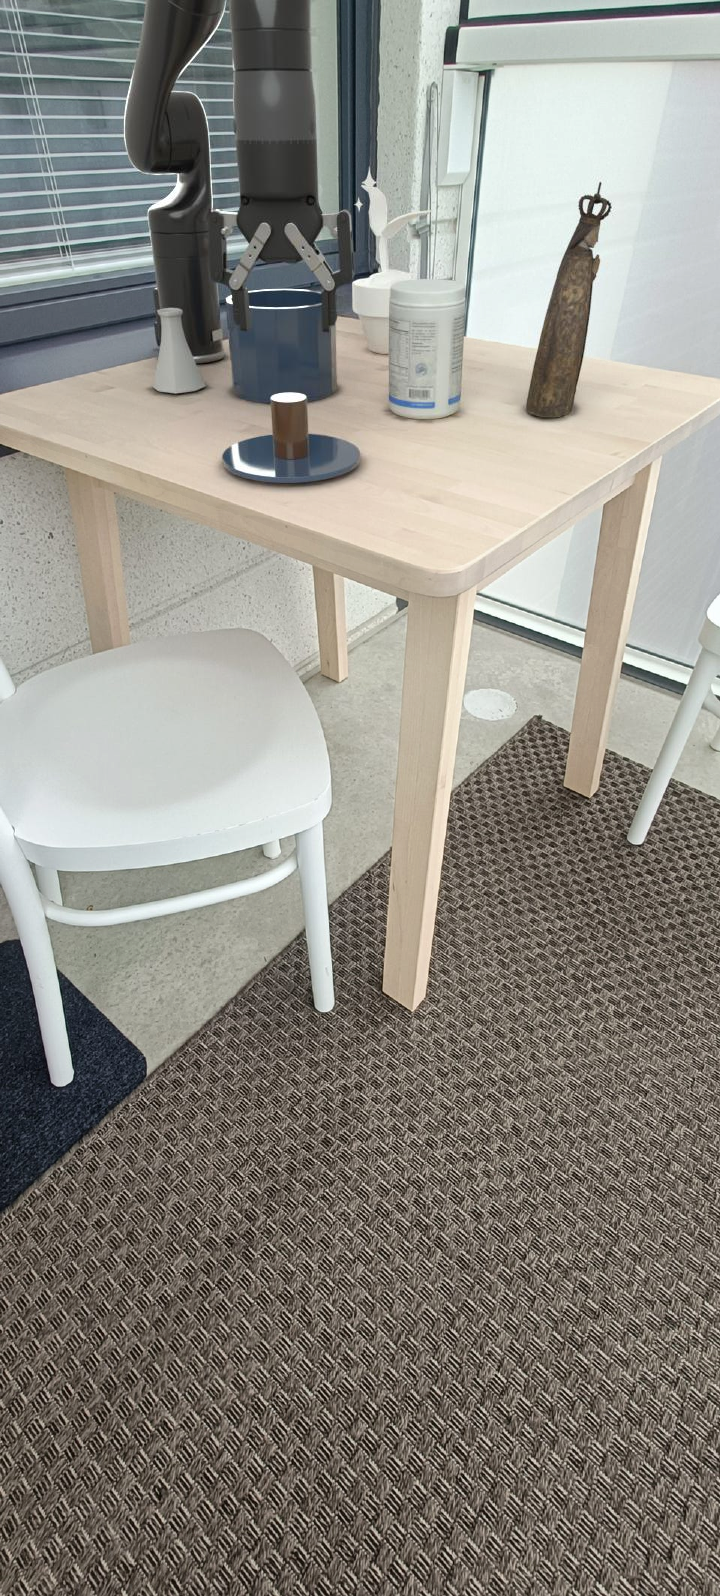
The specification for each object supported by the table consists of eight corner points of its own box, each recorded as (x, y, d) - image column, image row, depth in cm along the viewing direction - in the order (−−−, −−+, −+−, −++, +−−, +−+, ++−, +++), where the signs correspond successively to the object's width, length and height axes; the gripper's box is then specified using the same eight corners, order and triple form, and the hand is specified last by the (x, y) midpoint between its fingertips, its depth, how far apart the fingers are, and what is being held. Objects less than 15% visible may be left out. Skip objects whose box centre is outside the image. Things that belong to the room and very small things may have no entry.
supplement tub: (433, 398, 121) (439, 276, 112) (474, 414, 115) (483, 286, 106) (373, 407, 117) (374, 282, 108) (412, 425, 111) (417, 294, 102)
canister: (212, 393, 123) (202, 301, 116) (277, 372, 133) (272, 285, 125) (293, 409, 117) (289, 313, 110) (355, 386, 126) (355, 295, 119)
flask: (143, 388, 125) (132, 310, 119) (183, 379, 129) (174, 303, 123) (174, 398, 121) (164, 317, 115) (215, 388, 126) (207, 309, 119)
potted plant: (338, 352, 143) (335, 164, 127) (378, 339, 150) (379, 160, 135) (403, 363, 137) (408, 167, 122) (441, 349, 145) (450, 163, 129)
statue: (589, 417, 114) (626, 184, 98) (534, 421, 113) (562, 185, 97) (564, 400, 120) (595, 178, 105) (512, 402, 119) (535, 179, 104)
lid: (194, 470, 98) (186, 402, 93) (281, 435, 108) (278, 372, 103) (304, 499, 91) (301, 426, 86) (386, 459, 101) (387, 392, 96)
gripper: (356, 133, 83) (357, 324, 93) (209, 134, 84) (225, 322, 94) (348, 136, 77) (350, 339, 87) (190, 136, 78) (210, 337, 88)
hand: (285, 330), depth 91 cm, fingers open, 8 cm apart
